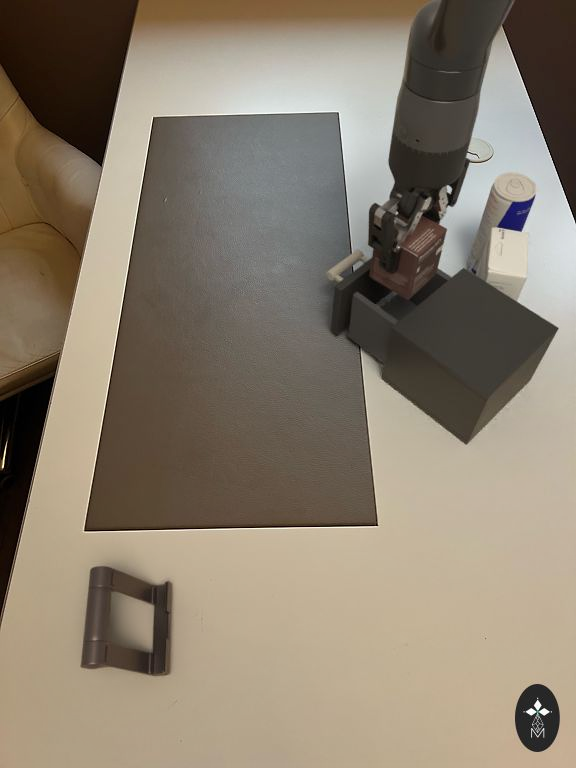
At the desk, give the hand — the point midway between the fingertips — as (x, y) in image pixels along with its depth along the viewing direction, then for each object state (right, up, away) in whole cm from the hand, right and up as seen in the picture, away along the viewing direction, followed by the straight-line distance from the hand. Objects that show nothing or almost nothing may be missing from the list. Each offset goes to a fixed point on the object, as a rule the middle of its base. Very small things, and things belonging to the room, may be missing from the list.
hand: (407, 254), depth 73 cm
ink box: (+14, -6, +14) cm, 20 cm away
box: (0, -2, +3) cm, 4 cm away
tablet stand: (-30, -41, -10) cm, 51 cm away
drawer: (-1, -7, +12) cm, 14 cm away
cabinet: (+8, -15, +8) cm, 18 cm away
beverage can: (+15, +1, +19) cm, 24 cm away
